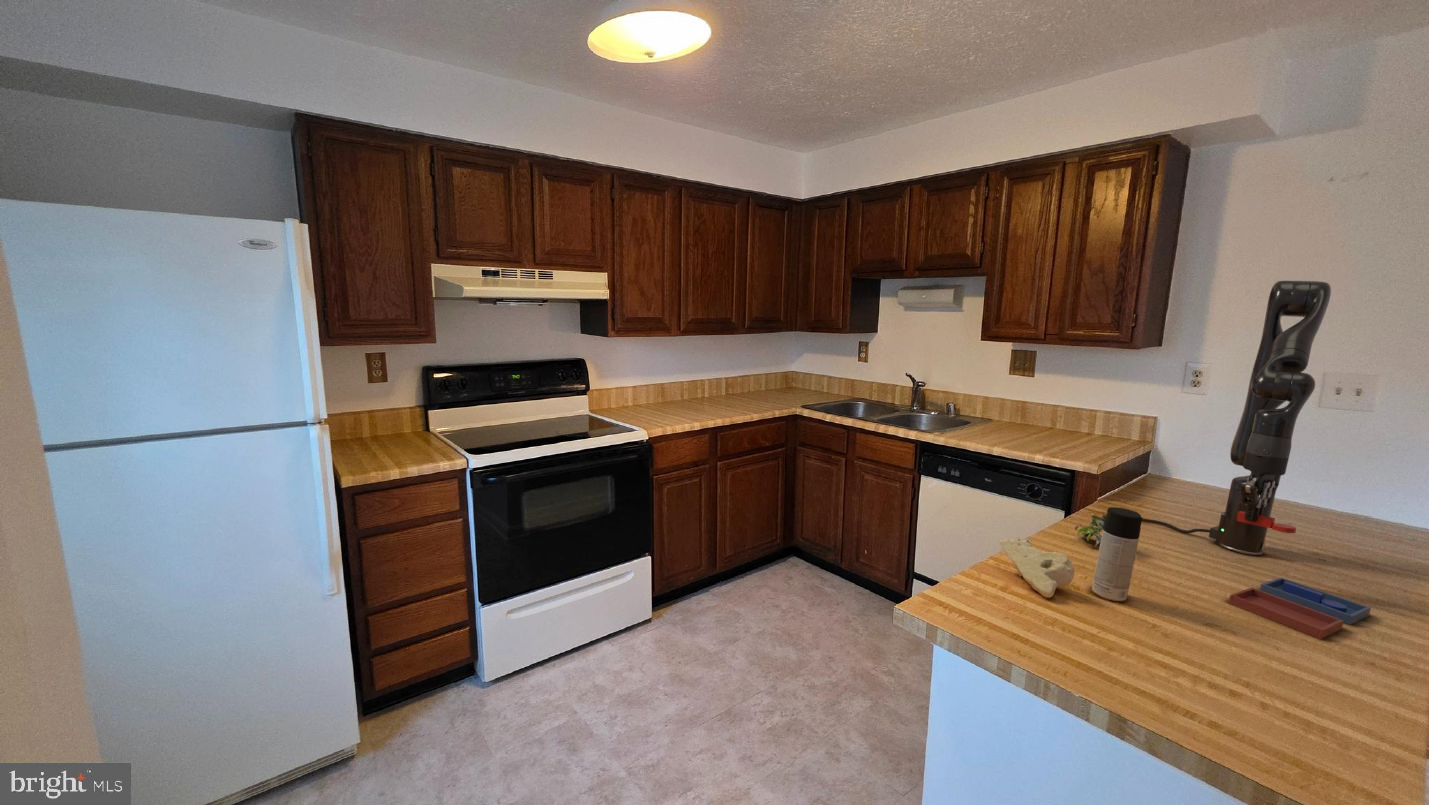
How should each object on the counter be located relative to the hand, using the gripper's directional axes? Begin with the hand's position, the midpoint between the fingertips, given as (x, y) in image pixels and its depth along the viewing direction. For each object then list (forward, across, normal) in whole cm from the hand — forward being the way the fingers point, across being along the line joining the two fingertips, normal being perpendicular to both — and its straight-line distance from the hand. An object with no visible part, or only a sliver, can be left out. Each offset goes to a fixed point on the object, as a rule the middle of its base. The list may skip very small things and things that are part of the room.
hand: (1252, 520), depth 139 cm
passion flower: (+15, +15, -25) cm, 33 cm away
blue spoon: (+15, 0, +14) cm, 20 cm away
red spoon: (+1, 0, +3) cm, 3 cm away
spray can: (+16, +44, -7) cm, 47 cm away
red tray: (+15, +15, +13) cm, 25 cm away
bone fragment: (+16, +57, -18) cm, 62 cm away
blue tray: (+15, 0, +13) cm, 20 cm away
